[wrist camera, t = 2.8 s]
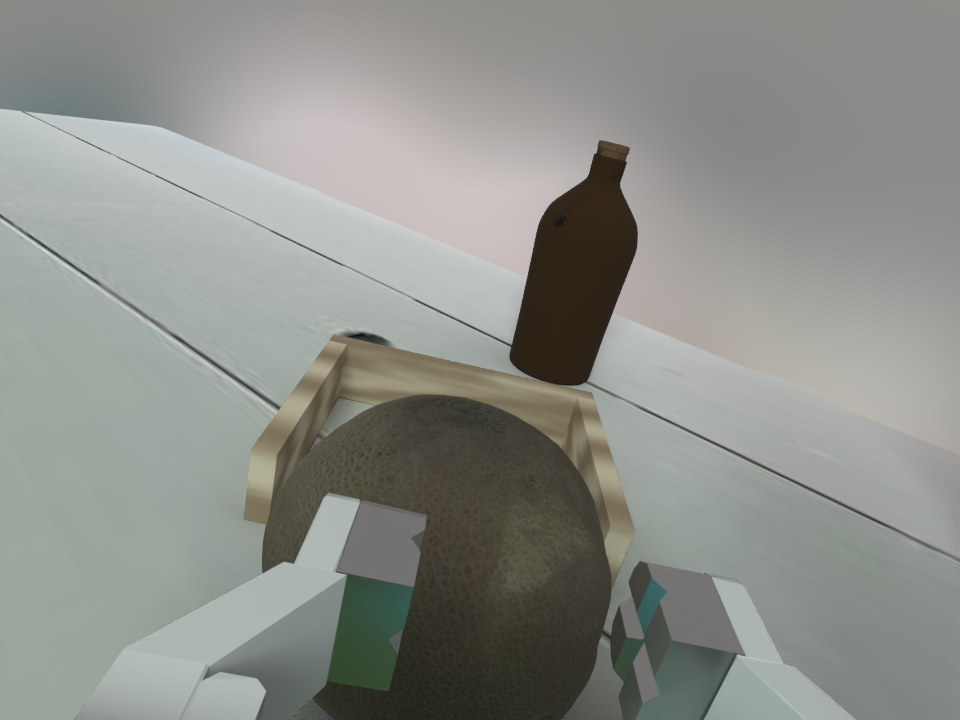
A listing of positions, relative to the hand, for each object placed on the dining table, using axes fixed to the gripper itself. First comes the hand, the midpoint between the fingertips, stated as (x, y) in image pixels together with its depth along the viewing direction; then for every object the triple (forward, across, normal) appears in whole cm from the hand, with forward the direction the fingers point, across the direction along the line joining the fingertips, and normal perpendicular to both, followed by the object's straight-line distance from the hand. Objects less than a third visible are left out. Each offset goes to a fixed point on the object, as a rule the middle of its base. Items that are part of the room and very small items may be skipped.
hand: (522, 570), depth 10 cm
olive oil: (+60, -10, +20) cm, 64 cm away
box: (+33, 0, +20) cm, 39 cm away
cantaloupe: (+14, 0, +20) cm, 25 cm away
